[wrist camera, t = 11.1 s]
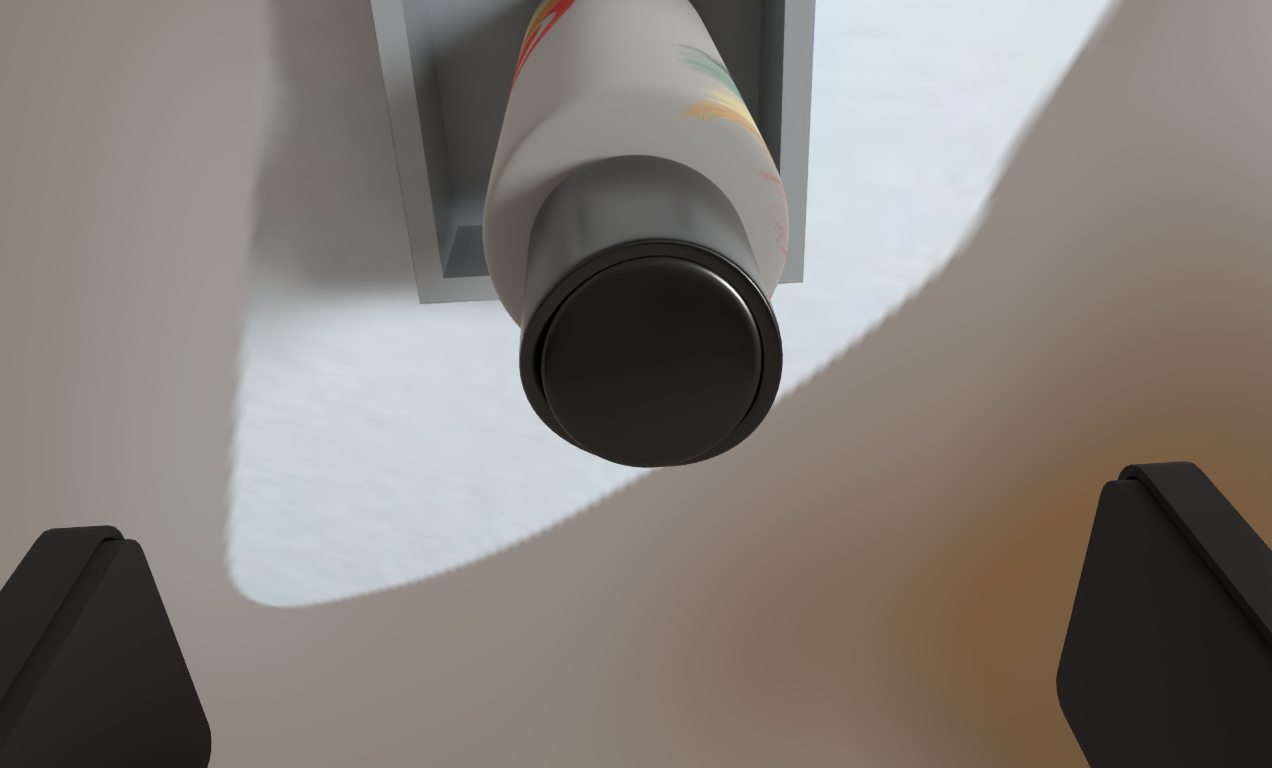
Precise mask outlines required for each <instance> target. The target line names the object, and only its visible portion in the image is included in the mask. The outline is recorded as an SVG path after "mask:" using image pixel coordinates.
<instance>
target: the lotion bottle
mask: <svg viewBox="0 0 1272 768" xmlns="http://www.w3.org/2000/svg"><path fill="white" fill-rule="evenodd" d="M788 241H789V216H788V206H787V201H786V196H785V192H784V188H783V185H782V182H781V179H780V176H779V173H778V171H777V169H776V166H775V164H774V162H773V159H772V157H771V155H770V153H769V150H768V148H767V146H766V144H765V142H764V140H763V138H762V136H761V134H760V132H759V130H758V128H757V126H756V124H755V123H754V121H753V119H752V117H751V115H750V113H749V111H748V109H747V107H746V105H745V103H744V101H743V99H742V97H741V95H740V93H739V91H738V89H737V87H736V85H735V84H734V82H733V80H732V78H731V76H730V74H729V72H728V70H727V68H726V66H725V64H724V62H723V60H722V58H721V56H720V54H719V52H718V50H717V48H716V47H715V45H714V43H713V41H712V39H711V37H710V35H709V33H708V31H707V29H706V27H705V25H704V23H703V22H702V20H701V18H700V16H699V14H698V13H697V11H696V10H695V8H694V7H693V5H692V4H691V2H690V1H689V0H542V1H541V2H540V4H539V6H538V7H537V9H536V10H535V12H534V14H533V16H532V18H531V20H530V23H529V25H528V27H527V30H526V33H525V36H524V40H523V43H522V47H521V51H520V55H519V59H518V63H517V67H516V71H515V75H514V80H513V84H512V88H511V92H510V96H509V100H508V104H507V109H506V113H505V117H504V121H503V125H502V129H501V133H500V138H499V142H498V146H497V150H496V154H495V158H494V163H493V167H492V171H491V176H490V180H489V185H488V190H487V196H486V201H485V206H484V216H483V246H484V254H485V259H486V263H487V267H488V271H489V275H490V278H491V280H492V283H493V286H494V288H495V290H496V293H497V295H498V297H499V299H500V301H501V302H502V304H503V306H504V307H505V309H506V311H507V312H508V313H509V315H510V316H511V317H512V319H513V320H514V321H515V323H516V324H517V325H518V326H519V327H520V328H521V334H520V346H519V369H520V377H521V382H522V386H523V389H524V392H525V394H526V397H527V399H528V401H529V403H530V404H531V406H532V408H533V409H534V411H535V412H536V414H537V415H538V416H539V418H540V419H541V420H542V421H543V422H544V423H545V424H546V425H547V426H548V427H549V428H550V429H551V430H552V431H553V432H555V433H556V434H557V435H559V436H560V437H561V438H563V439H564V440H566V441H567V442H569V443H570V444H572V445H574V446H576V447H578V448H580V449H582V450H584V451H586V452H589V453H591V454H594V455H596V456H599V457H601V458H603V459H605V460H608V461H611V462H614V463H617V464H621V465H626V466H632V467H643V468H653V467H666V466H678V465H686V464H691V463H697V462H700V461H703V460H707V459H710V458H713V457H715V456H718V455H720V454H722V453H724V452H726V451H728V450H730V449H732V448H733V447H735V446H736V445H738V444H739V443H741V442H742V441H743V440H745V439H746V438H747V437H748V436H749V435H750V434H751V433H752V432H753V431H754V430H755V429H756V428H757V427H758V426H759V425H760V423H761V422H762V421H763V419H764V418H765V416H766V415H767V413H768V412H769V410H770V408H771V406H772V404H773V402H774V400H775V397H776V394H777V391H778V388H779V384H780V380H781V373H782V365H783V352H782V341H781V336H780V331H779V326H778V322H777V319H776V316H775V313H774V310H773V307H772V304H771V301H770V299H771V297H772V295H773V293H774V291H775V289H776V287H777V285H778V283H779V280H780V277H781V274H782V271H783V268H784V264H785V260H786V256H787V249H788Z"/></svg>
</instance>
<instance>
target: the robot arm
mask: <svg viewBox="0 0 1272 768" xmlns="http://www.w3.org/2000/svg"><path fill="white" fill-rule="evenodd" d="M1056 682H1057V683H1056V684H1057V694H1058V699H1059V702H1060V706H1061V708H1062V711H1063V714H1064V716H1065V718H1066V720H1067V722H1068V724H1069V725H1070V727H1071V729H1072V731H1073V733H1074V735H1075V737H1076V739H1077V741H1078V743H1079V745H1080V747H1081V749H1082V751H1083V753H1084V755H1085V757H1086V759H1087V761H1088V763H1089V765H1090V767H1091V768H1272V551H1271V549H1270V548H1269V547H1268V546H1267V545H1266V544H1265V543H1264V541H1263V540H1262V539H1261V538H1260V537H1259V536H1258V535H1257V533H1256V532H1255V531H1254V530H1253V529H1252V528H1251V527H1250V526H1249V524H1248V523H1247V522H1246V521H1245V520H1244V519H1243V517H1242V516H1241V515H1240V514H1239V513H1238V512H1237V510H1236V509H1235V508H1234V507H1233V506H1232V505H1231V504H1230V502H1229V501H1228V500H1227V499H1226V498H1225V497H1224V496H1223V495H1222V493H1221V492H1220V491H1219V490H1218V489H1217V488H1216V487H1215V485H1214V484H1213V483H1212V482H1211V481H1210V480H1209V478H1208V477H1207V476H1206V475H1205V474H1204V473H1203V472H1202V470H1201V469H1199V468H1198V467H1197V466H1196V465H1195V464H1193V463H1189V462H1170V463H1154V464H1136V465H1130V466H1127V467H1125V468H1124V469H1123V470H1122V472H1121V473H1120V475H1119V477H1118V480H1117V481H1110V482H1107V483H1106V484H1105V486H1104V487H1103V489H1102V492H1101V495H1100V499H1099V503H1098V507H1097V511H1096V515H1095V519H1094V524H1093V528H1092V532H1091V536H1090V540H1089V544H1088V548H1087V552H1086V556H1085V560H1084V564H1083V569H1082V573H1081V577H1080V581H1079V585H1078V589H1077V593H1076V598H1075V601H1074V606H1073V610H1072V614H1071V618H1070V622H1069V626H1068V630H1067V634H1066V638H1065V643H1064V647H1063V651H1062V655H1061V659H1060V663H1059V667H1058V672H1057V678H1056ZM210 754H211V731H210V728H209V724H208V721H207V719H206V716H205V714H204V711H203V708H202V705H201V703H200V700H199V698H198V695H197V692H196V690H195V687H194V684H193V682H192V679H191V676H190V674H189V671H188V668H187V666H186V663H185V660H184V658H183V655H182V653H181V650H180V647H179V645H178V642H177V640H176V637H175V634H174V631H173V629H172V626H171V624H170V621H169V618H168V615H167V613H166V610H165V607H164V605H163V602H162V600H161V597H160V594H159V592H158V589H157V586H156V584H155V581H154V578H153V576H152V573H151V570H150V568H149V565H148V562H147V560H146V557H145V555H144V552H143V550H142V548H141V546H140V544H139V543H138V542H137V541H136V540H131V539H127V540H126V539H124V537H123V536H122V534H121V532H120V531H119V530H118V529H117V528H115V527H113V526H108V525H106V526H89V527H75V528H74V527H73V528H55V529H50V530H47V531H45V532H43V533H42V535H40V537H39V538H38V539H37V540H36V542H35V543H34V544H33V546H32V547H31V548H30V550H29V551H28V553H27V554H26V556H25V557H24V558H23V560H22V561H21V563H20V564H19V565H18V567H17V568H16V570H15V571H14V573H13V574H12V575H11V577H10V578H9V580H8V581H7V582H6V584H5V585H4V587H3V588H2V590H1V591H0V768H207V767H208V763H209V759H210Z"/></svg>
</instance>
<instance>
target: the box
mask: <svg viewBox="0 0 1272 768" xmlns="http://www.w3.org/2000/svg"><path fill="white" fill-rule="evenodd" d="M370 1H371V7H372V13H373V19H374V26H375V32H376V38H377V44H378V50H379V56H380V62H381V68H382V74H383V80H384V87H385V93H386V99H387V105H388V111H389V117H390V123H391V129H392V135H393V142H394V148H395V154H396V160H397V166H398V172H399V178H400V184H401V190H402V196H403V203H404V209H405V215H406V221H407V227H408V233H409V239H410V245H411V251H412V258H413V264H414V270H415V276H416V282H417V288H418V294H419V300H420V304H430V303H448V302H466V301H483V300H500V299H499V297H498V295H497V293H496V290H495V288H494V286H493V283H492V280H491V278H490V275H489V271H488V267H487V263H486V259H485V254H484V246H483V216H484V206H485V201H486V196H487V190H488V185H489V180H490V176H491V171H492V167H493V163H494V158H495V154H496V150H497V146H498V142H499V138H500V133H501V129H502V125H503V121H504V117H505V113H506V109H507V104H508V100H509V96H510V92H511V88H512V84H513V80H514V75H515V71H516V67H517V63H518V59H519V55H520V51H521V47H522V43H523V40H524V36H525V33H526V30H527V27H528V25H529V23H530V20H531V18H532V16H533V14H534V12H535V10H536V9H537V7H538V6H539V4H540V2H541V1H542V0H370ZM689 1H690V2H691V4H692V5H693V7H694V8H695V10H696V11H697V13H698V14H699V16H700V18H701V20H702V22H703V23H704V25H705V27H706V29H707V31H708V33H709V35H710V37H711V39H712V41H713V43H714V45H715V47H716V48H717V50H718V52H719V54H720V56H721V58H722V60H723V62H724V64H725V66H726V68H727V70H728V72H729V74H730V76H731V78H732V80H733V82H734V84H735V85H736V87H737V89H738V91H739V93H740V95H741V97H742V99H743V101H744V103H745V105H746V107H747V109H748V111H749V113H750V115H751V117H752V119H753V121H754V123H755V124H756V126H757V128H758V130H759V132H760V134H761V136H762V138H763V140H764V142H765V144H766V146H767V148H768V150H769V153H770V155H771V157H772V159H773V162H774V164H775V166H776V169H777V171H778V173H779V176H780V179H781V182H782V185H783V188H784V192H785V196H786V201H787V206H788V216H789V241H788V249H787V256H786V260H785V264H784V268H783V271H782V274H781V277H780V280H779V283H778V284H784V283H801V282H803V270H804V247H805V224H806V202H807V179H808V157H809V134H810V112H811V89H812V66H813V44H814V21H815V0H689Z"/></svg>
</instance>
